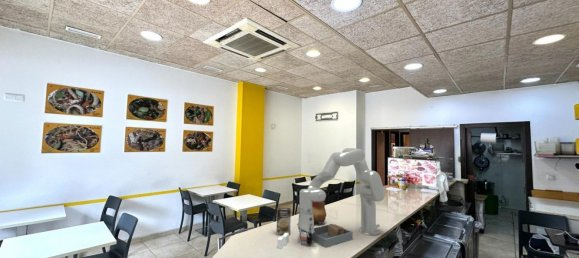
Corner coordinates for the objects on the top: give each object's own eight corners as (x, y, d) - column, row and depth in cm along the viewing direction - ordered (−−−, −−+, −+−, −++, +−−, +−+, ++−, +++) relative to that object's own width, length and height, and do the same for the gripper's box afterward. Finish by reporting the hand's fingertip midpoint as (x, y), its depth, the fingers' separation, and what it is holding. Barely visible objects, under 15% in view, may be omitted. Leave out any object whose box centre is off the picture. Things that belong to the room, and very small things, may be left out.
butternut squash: (304, 224, 176) (305, 189, 178) (311, 219, 188) (312, 186, 190) (322, 227, 170) (322, 191, 171) (328, 222, 182) (328, 188, 183)
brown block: (334, 233, 157) (334, 224, 158) (343, 237, 151) (343, 227, 151) (327, 235, 154) (327, 225, 154) (336, 239, 147) (336, 229, 148)
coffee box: (276, 235, 155) (276, 209, 156) (276, 231, 161) (276, 207, 162) (290, 235, 155) (290, 209, 156) (290, 231, 161) (290, 207, 162)
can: (306, 240, 148) (306, 228, 148) (313, 243, 142) (313, 231, 143) (297, 242, 144) (298, 230, 144) (304, 246, 139) (304, 234, 139)
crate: (332, 231, 163) (332, 223, 163) (352, 240, 148) (352, 232, 148) (306, 238, 151) (306, 229, 151) (325, 248, 136) (325, 239, 136)
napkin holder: (286, 239, 150) (287, 230, 150) (298, 245, 140) (298, 235, 141) (266, 245, 141) (266, 235, 141) (276, 252, 132) (276, 241, 132)
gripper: (320, 213, 139) (320, 245, 138) (302, 206, 153) (301, 235, 152) (309, 215, 135) (309, 248, 134) (292, 208, 149) (292, 237, 148)
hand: (305, 240), depth 143 cm, fingers closed on can, 6 cm apart
